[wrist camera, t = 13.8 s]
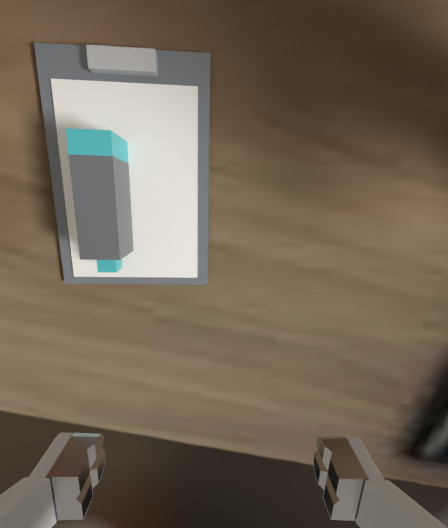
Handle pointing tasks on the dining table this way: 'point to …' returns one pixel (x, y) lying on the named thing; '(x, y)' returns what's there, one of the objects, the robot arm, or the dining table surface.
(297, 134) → the dining table surface
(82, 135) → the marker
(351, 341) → the dining table surface
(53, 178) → the clipboard
